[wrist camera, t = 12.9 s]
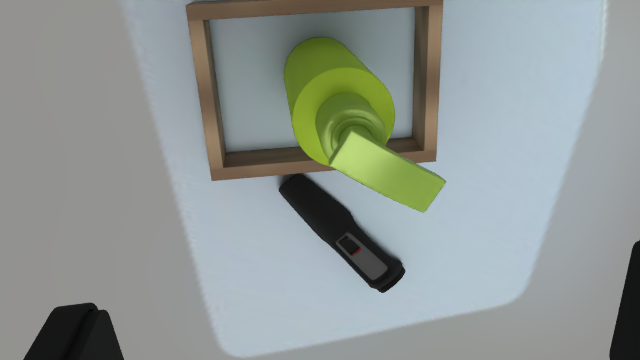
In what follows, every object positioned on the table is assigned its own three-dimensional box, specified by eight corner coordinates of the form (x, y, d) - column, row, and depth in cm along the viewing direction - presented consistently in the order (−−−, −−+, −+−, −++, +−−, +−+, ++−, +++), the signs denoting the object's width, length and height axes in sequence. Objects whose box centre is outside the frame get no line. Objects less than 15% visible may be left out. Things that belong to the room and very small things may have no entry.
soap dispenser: (343, 128, 42) (403, 250, 24) (270, 88, 40) (276, 189, 22) (380, 67, 40) (476, 148, 22) (306, 22, 38) (345, 71, 20)
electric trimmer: (299, 155, 43) (301, 169, 40) (406, 265, 49) (415, 283, 46) (268, 183, 44) (268, 198, 41) (376, 288, 49) (383, 307, 46)
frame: (192, 2, 37) (185, 5, 34) (428, -12, 38) (443, -10, 35) (215, 164, 42) (211, 180, 39) (423, 147, 44) (435, 161, 40)
